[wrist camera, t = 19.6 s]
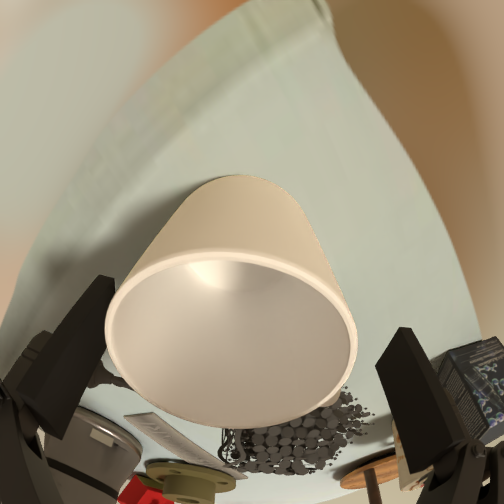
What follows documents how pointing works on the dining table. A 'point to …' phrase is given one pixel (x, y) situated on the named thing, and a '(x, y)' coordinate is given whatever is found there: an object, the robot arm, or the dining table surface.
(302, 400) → the cup
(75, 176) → the dining table surface
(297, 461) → the massage brush
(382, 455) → the turntable base
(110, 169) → the dining table surface
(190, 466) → the flange
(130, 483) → the red faceted polyhedron
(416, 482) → the mug
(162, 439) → the nameplate
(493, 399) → the box
